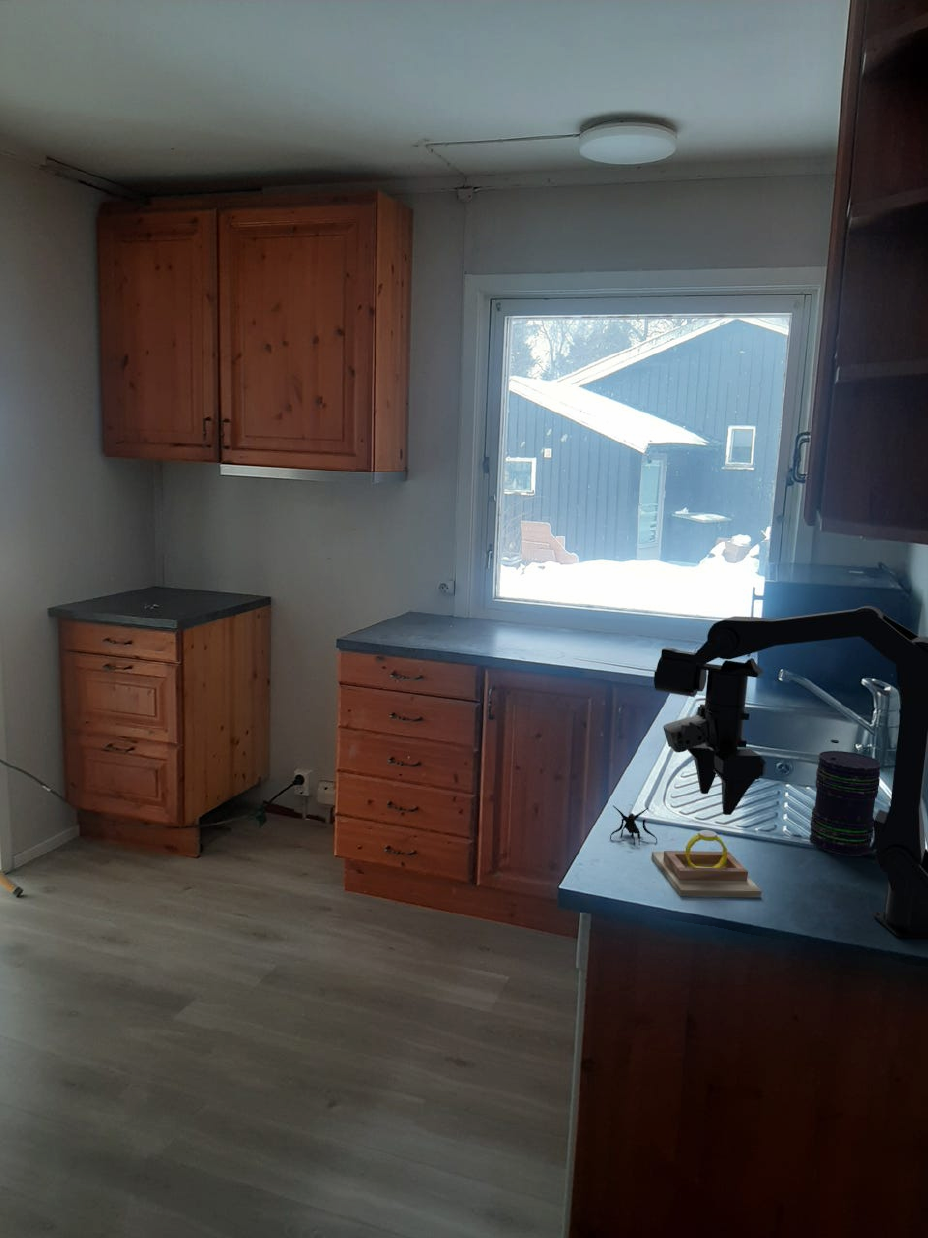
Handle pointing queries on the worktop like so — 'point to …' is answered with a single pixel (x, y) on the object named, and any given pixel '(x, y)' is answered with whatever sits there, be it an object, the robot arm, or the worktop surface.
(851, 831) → the dark purple barrel
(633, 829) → the creature
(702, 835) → the watch
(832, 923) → the worktop surface
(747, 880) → the wooden framed tray
